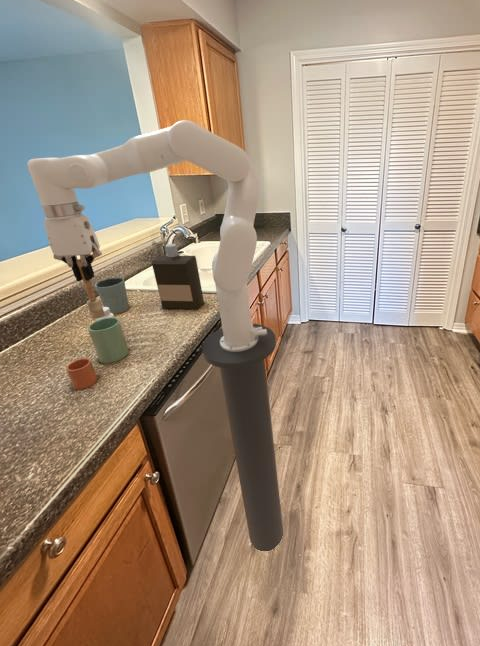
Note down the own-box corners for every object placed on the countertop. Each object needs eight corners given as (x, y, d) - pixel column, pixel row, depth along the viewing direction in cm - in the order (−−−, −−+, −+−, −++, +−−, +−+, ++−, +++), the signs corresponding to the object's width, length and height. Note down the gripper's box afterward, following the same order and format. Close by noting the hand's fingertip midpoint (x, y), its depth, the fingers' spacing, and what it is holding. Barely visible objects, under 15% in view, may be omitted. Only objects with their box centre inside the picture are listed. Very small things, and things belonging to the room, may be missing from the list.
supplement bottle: (101, 340, 108) (93, 314, 104) (100, 333, 112) (92, 308, 108) (119, 335, 110) (112, 309, 106) (118, 329, 115) (110, 304, 111)
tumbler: (131, 345, 104) (122, 315, 100) (125, 360, 97) (115, 328, 92) (104, 350, 102) (93, 319, 98) (95, 365, 95) (83, 333, 91)
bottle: (170, 300, 135) (156, 242, 125) (206, 301, 132) (195, 242, 122) (159, 309, 127) (144, 248, 118) (197, 310, 125) (185, 248, 115)
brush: (106, 313, 94) (88, 257, 87) (101, 318, 91) (82, 261, 84) (95, 313, 94) (76, 258, 87) (89, 319, 91) (69, 262, 84)
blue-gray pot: (118, 302, 135) (110, 276, 131) (137, 305, 132) (130, 278, 127) (97, 313, 127) (88, 285, 122) (117, 316, 123) (108, 288, 119)
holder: (100, 374, 91) (93, 356, 89) (93, 387, 86) (86, 368, 84) (78, 377, 90) (71, 360, 88) (69, 391, 85) (62, 372, 83)
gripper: (102, 206, 84) (121, 272, 92) (41, 210, 84) (65, 276, 91) (86, 211, 77) (108, 282, 85) (19, 215, 77) (47, 286, 84)
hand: (85, 278), depth 88 cm, fingers closed on brush
